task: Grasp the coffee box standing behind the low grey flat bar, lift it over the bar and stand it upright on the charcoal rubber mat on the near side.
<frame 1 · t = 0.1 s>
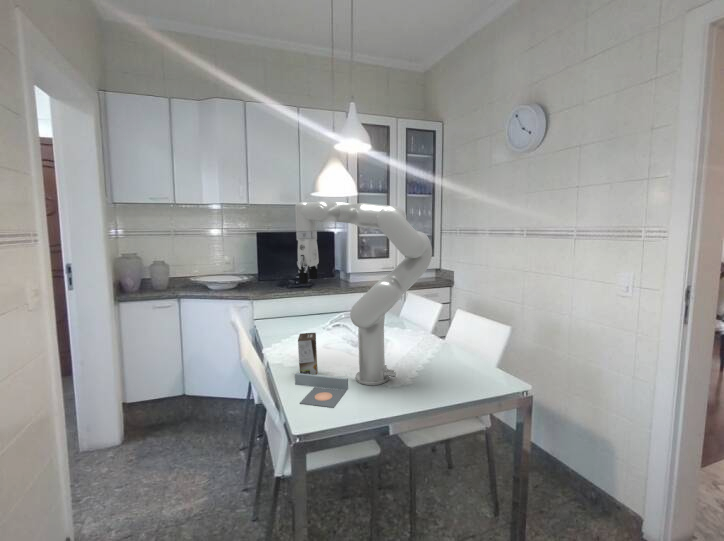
hand: (308, 281, 146), 36 cm above the table, tool pointing down, fingers open, 9 cm apart
coffee box: (309, 377, 148), on the table
resting mat: (323, 397, 131), on the table
grey flat bar: (321, 386, 139), on the table
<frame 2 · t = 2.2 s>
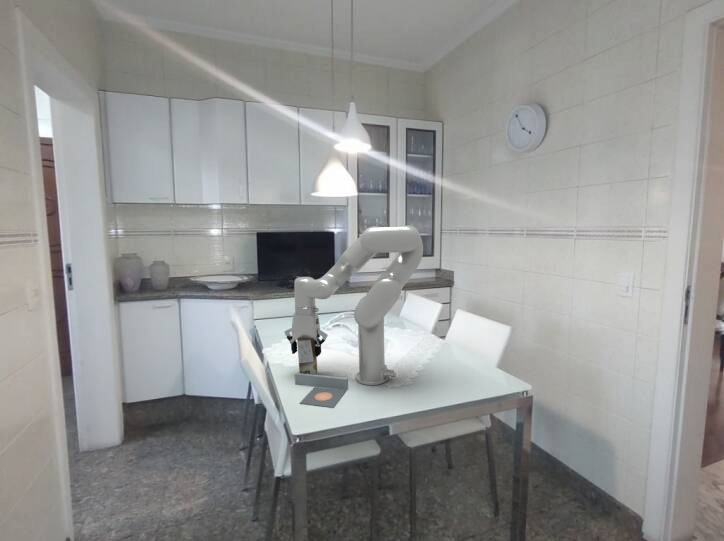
hand: (306, 354, 147), 9 cm above the table, tool pointing down, fingers open, 9 cm apart
coffee box: (309, 377, 148), on the table, touching gripper
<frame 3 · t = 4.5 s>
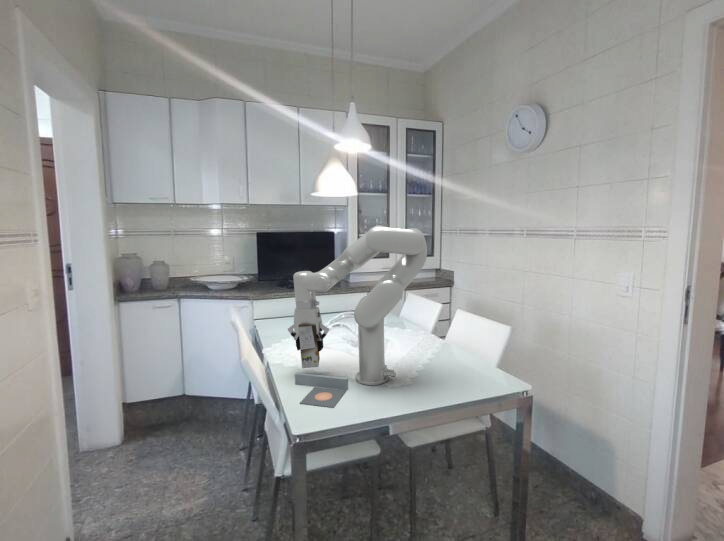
hand: (309, 349, 146), 11 cm above the table, tool pointing down, fingers closed on coffee box, 8 cm apart
coffee box: (311, 364, 147), point 5 cm above the table, touching gripper
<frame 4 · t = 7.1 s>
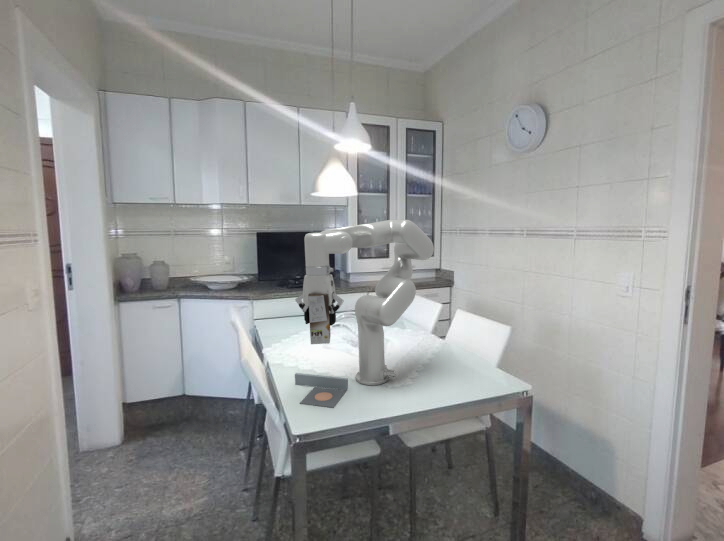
hand: (320, 323, 127), 26 cm above the table, tool pointing down, fingers closed on coffee box, 8 cm apart
coffee box: (321, 340, 128), point 20 cm above the table, touching gripper
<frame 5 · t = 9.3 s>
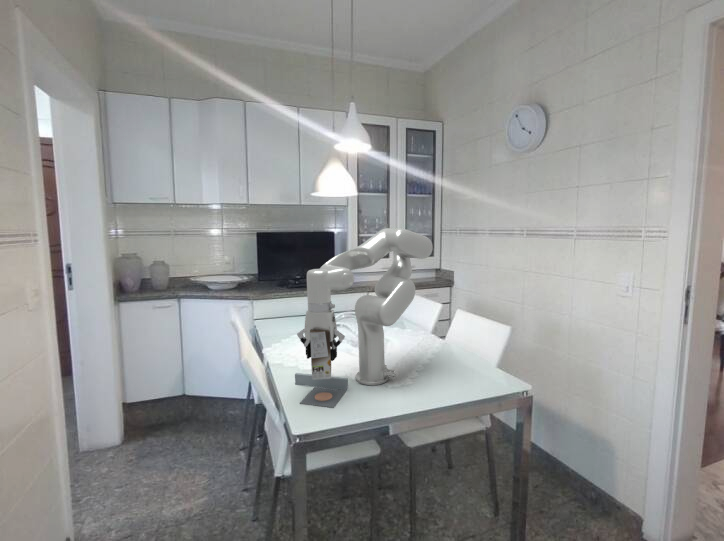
hand: (321, 358, 129), 14 cm above the table, tool pointing down, fingers closed on coffee box, 8 cm apart
coffee box: (322, 374, 130), point 8 cm above the table, touching gripper
when the fingers open (7 cm above the table, at t = 11.4 s): coffee box stays where it is, resting on resting mat.
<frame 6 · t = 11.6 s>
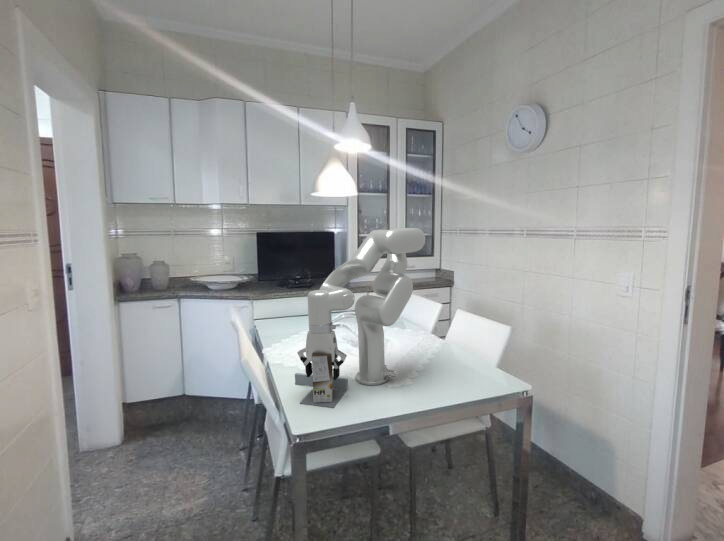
hand: (322, 377, 130), 7 cm above the table, tool pointing down, fingers open, 9 cm apart
coffee box: (323, 396, 131), resting on resting mat
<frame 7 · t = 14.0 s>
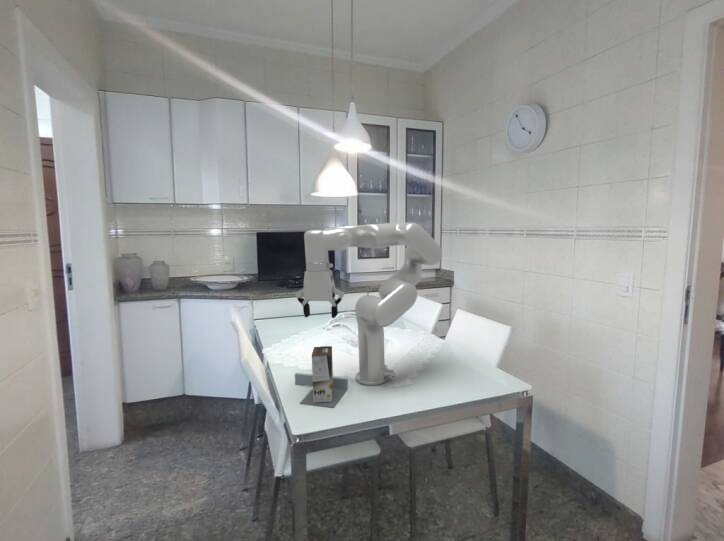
hand: (320, 316, 132), 27 cm above the table, tool pointing down, fingers open, 9 cm apart
nothing on the table moved.
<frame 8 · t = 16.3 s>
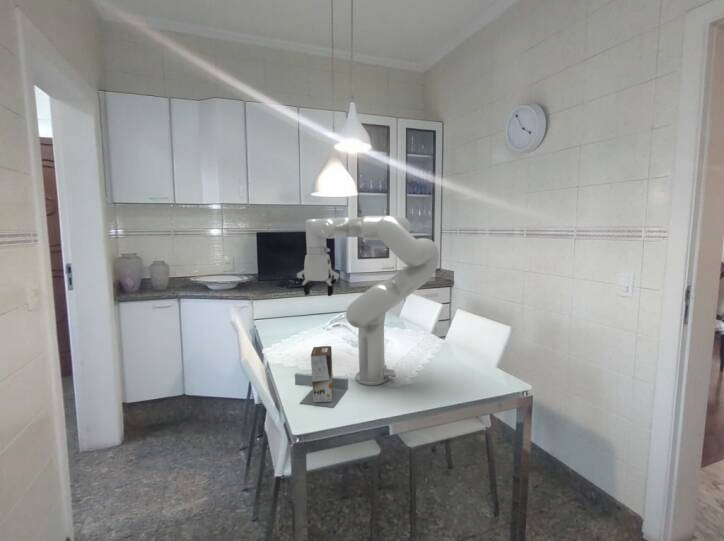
hand: (318, 295, 151), 30 cm above the table, tool pointing down, fingers open, 9 cm apart
nothing on the table moved.
at the end: coffee box inside the target area on the resting mat (0.1 cm from its centre), point 0.2 cm above the resting mat's base; coffee box tilted 1°; the gripper is holding nothing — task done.
